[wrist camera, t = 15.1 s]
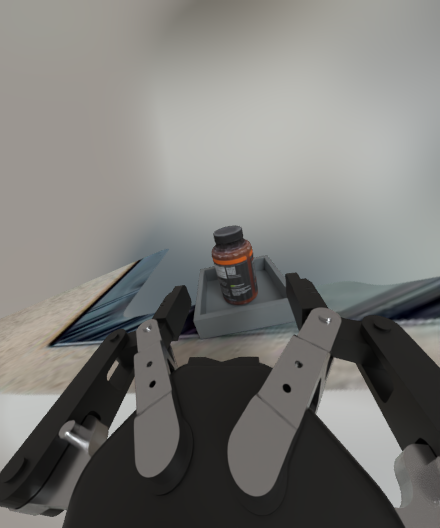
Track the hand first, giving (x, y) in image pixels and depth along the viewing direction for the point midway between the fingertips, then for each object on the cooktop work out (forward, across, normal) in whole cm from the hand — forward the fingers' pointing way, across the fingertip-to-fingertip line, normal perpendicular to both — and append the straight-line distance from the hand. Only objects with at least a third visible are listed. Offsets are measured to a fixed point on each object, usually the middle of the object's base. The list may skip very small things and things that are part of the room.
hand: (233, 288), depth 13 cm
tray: (+11, +1, +10) cm, 15 cm away
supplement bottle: (+11, +1, +10) cm, 15 cm away
